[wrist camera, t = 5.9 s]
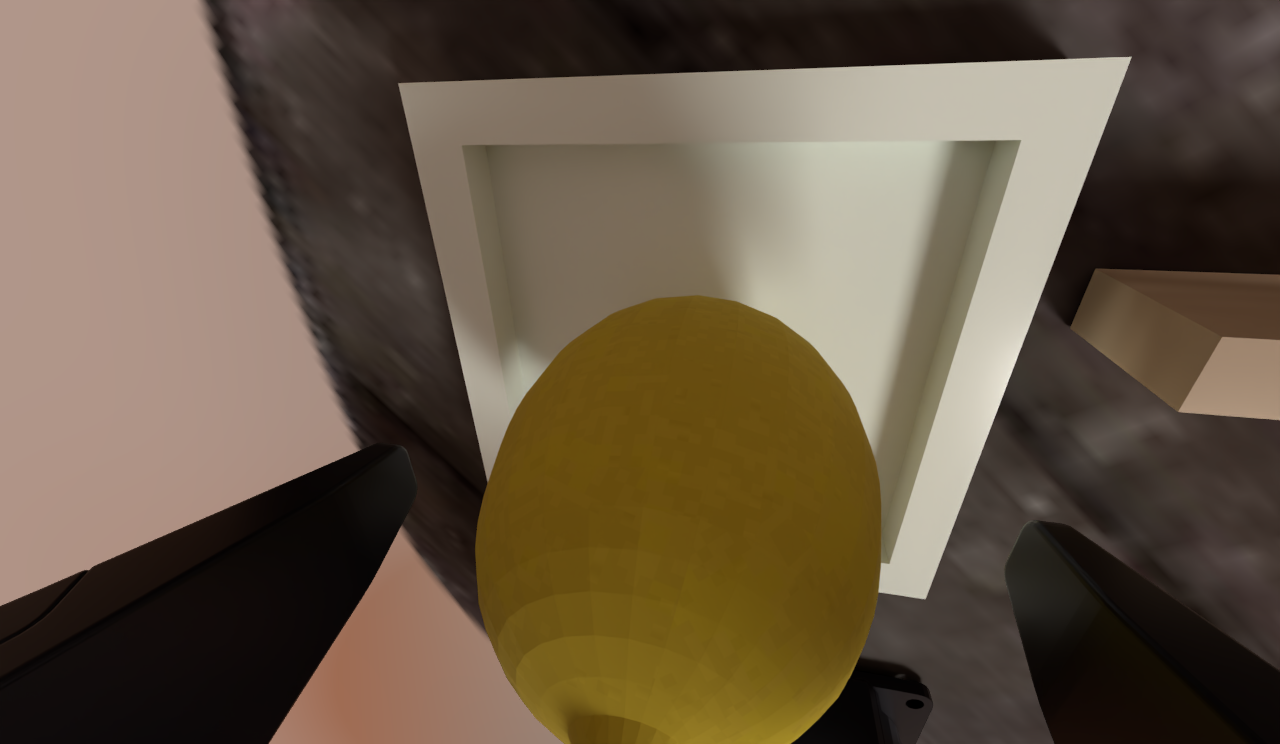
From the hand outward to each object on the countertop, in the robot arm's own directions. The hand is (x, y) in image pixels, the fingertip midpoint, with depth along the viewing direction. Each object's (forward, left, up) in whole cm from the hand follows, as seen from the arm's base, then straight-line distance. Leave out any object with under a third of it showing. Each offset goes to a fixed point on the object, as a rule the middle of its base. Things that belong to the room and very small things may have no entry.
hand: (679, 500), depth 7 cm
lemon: (0, 0, -5) cm, 5 cm away
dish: (0, 0, -5) cm, 5 cm away
